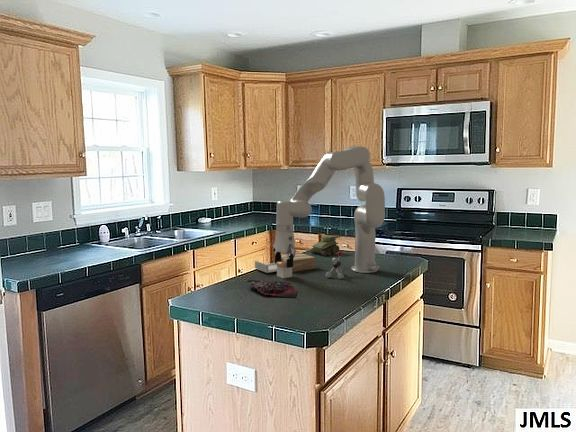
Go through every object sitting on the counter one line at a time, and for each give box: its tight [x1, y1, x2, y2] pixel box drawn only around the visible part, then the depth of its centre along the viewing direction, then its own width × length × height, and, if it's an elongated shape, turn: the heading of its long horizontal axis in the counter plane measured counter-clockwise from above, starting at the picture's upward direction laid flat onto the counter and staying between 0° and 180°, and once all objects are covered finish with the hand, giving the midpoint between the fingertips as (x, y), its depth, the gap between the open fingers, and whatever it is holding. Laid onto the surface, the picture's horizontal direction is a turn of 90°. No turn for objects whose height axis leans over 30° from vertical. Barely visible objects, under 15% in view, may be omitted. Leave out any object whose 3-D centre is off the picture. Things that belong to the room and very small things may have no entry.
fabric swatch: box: [246, 279, 298, 298], centre depth 199 cm, size 20×21×3 cm
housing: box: [274, 252, 317, 273], centre depth 239 cm, size 14×15×5 cm
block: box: [276, 266, 293, 279], centre depth 221 cm, size 5×5×5 cm
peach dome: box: [277, 261, 287, 267], centre depth 221 cm, size 7×7×2 cm
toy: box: [310, 234, 342, 257], centre depth 274 cm, size 10×18×10 cm, turn 132°
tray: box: [254, 260, 277, 274], centre depth 232 cm, size 11×14×4 cm
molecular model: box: [325, 250, 344, 280], centre depth 223 cm, size 8×12×11 cm
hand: (283, 265), depth 221 cm, fingers open, 9 cm apart
